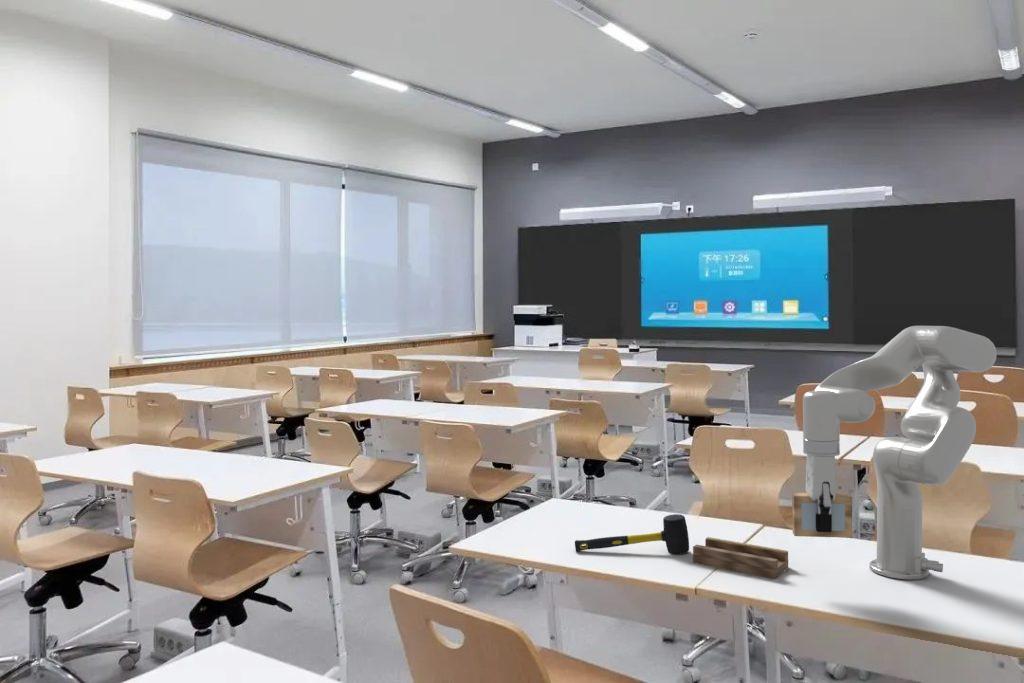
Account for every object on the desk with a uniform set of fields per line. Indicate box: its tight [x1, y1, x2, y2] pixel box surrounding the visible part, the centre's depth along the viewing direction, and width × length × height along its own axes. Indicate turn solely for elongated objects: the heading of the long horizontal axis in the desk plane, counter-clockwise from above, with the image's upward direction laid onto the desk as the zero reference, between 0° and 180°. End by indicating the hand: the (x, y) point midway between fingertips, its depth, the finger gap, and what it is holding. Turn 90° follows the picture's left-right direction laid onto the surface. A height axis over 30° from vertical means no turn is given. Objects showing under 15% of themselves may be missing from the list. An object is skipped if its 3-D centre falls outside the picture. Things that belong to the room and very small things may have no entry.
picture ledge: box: [692, 536, 789, 580], centre depth 190 cm, size 20×10×4 cm, turn 54°
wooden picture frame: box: [791, 492, 853, 539], centre depth 174 cm, size 12×3×9 cm, turn 78°
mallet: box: [574, 514, 690, 555], centre depth 202 cm, size 29×6×10 cm, turn 88°
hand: (822, 528), depth 174 cm, fingers closed on wooden picture frame, 3 cm apart
